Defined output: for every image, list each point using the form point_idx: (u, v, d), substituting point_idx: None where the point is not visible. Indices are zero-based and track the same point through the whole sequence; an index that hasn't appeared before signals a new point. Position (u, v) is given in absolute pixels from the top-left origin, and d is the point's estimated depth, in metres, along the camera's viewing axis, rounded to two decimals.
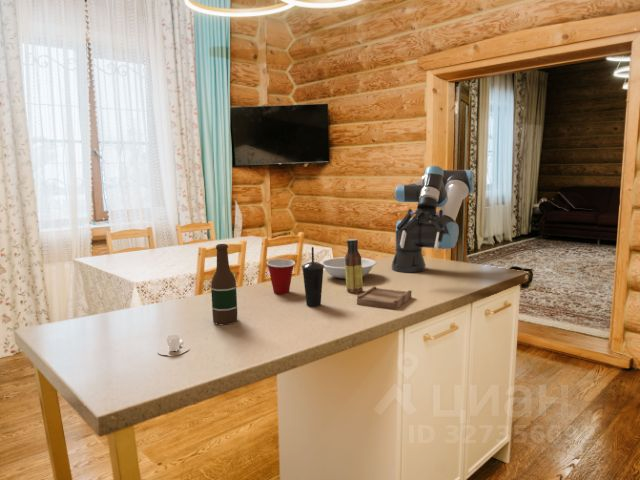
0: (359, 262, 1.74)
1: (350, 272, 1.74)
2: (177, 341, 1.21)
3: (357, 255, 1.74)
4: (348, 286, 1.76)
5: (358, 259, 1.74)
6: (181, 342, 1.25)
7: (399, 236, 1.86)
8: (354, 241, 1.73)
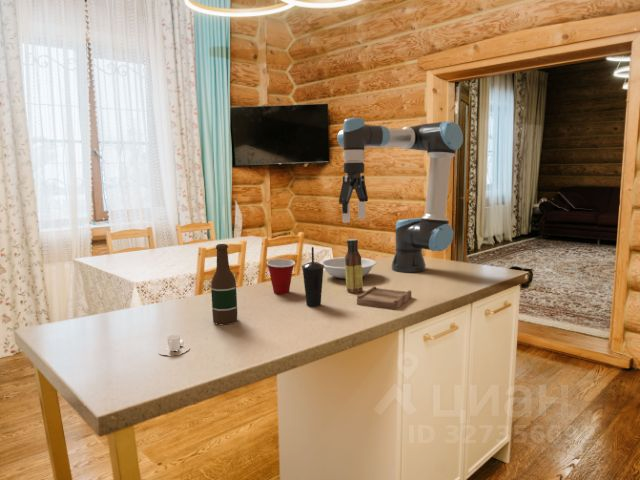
0: (359, 262, 1.74)
1: (350, 272, 1.74)
2: (177, 341, 1.21)
3: (357, 255, 1.74)
4: (348, 286, 1.76)
5: (358, 259, 1.74)
6: (181, 342, 1.25)
7: None
8: (354, 241, 1.73)
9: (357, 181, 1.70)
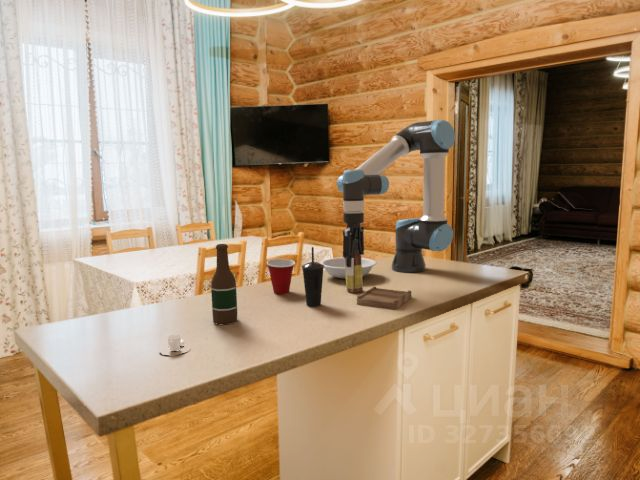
0: (359, 262, 1.74)
1: None
2: (178, 341, 1.21)
3: (357, 255, 1.74)
4: (348, 286, 1.76)
5: (358, 259, 1.74)
6: (182, 342, 1.25)
7: None
8: (354, 241, 1.73)
9: (357, 231, 1.73)
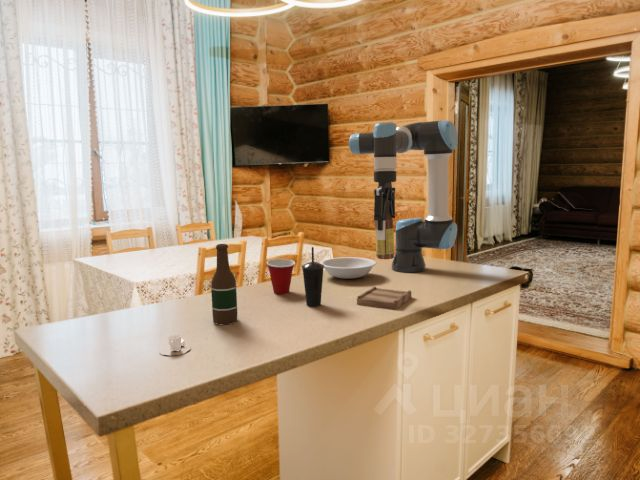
0: (391, 225, 1.59)
1: None
2: (178, 341, 1.21)
3: (389, 217, 1.58)
4: (379, 252, 1.60)
5: (390, 222, 1.58)
6: (182, 342, 1.25)
7: None
8: (386, 202, 1.58)
9: (389, 191, 1.57)
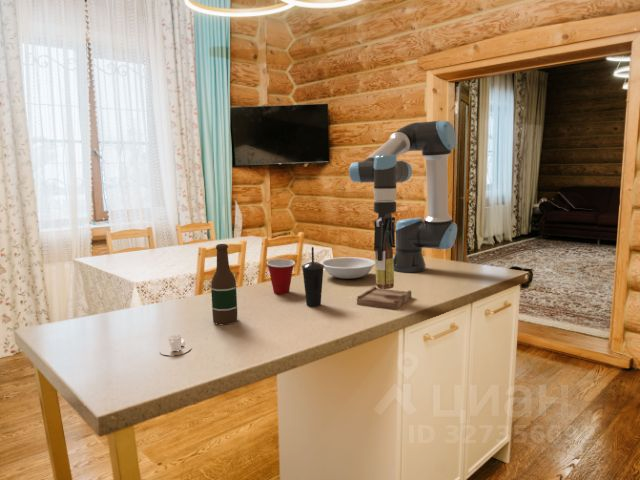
0: (391, 255, 1.60)
1: None
2: (179, 341, 1.21)
3: (389, 248, 1.60)
4: (378, 281, 1.62)
5: (390, 252, 1.60)
6: (183, 342, 1.25)
7: None
8: (386, 232, 1.59)
9: (389, 221, 1.59)
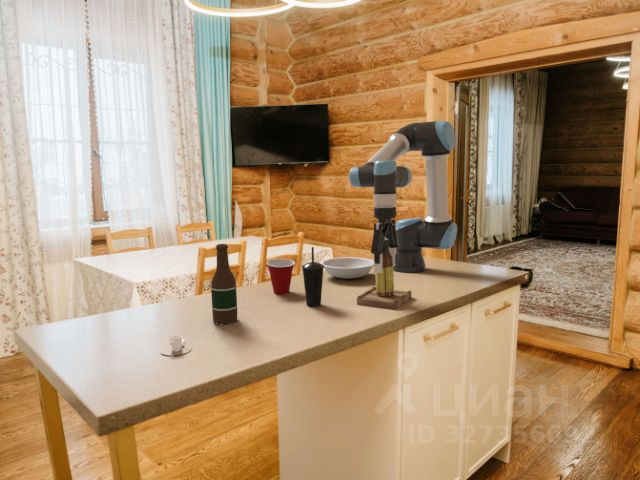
0: (391, 264, 1.60)
1: (381, 275, 1.60)
2: (179, 341, 1.21)
3: (388, 256, 1.60)
4: (378, 290, 1.62)
5: (390, 260, 1.60)
6: (183, 342, 1.25)
7: None
8: (385, 241, 1.59)
9: (389, 227, 1.59)
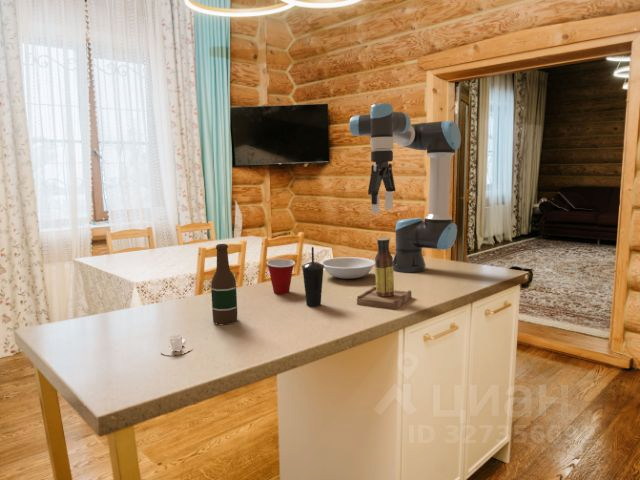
0: (391, 263, 1.61)
1: (381, 275, 1.60)
2: (179, 341, 1.21)
3: (388, 256, 1.60)
4: (378, 289, 1.62)
5: (390, 260, 1.60)
6: (184, 342, 1.25)
7: None
8: (385, 241, 1.60)
9: (386, 170, 1.61)
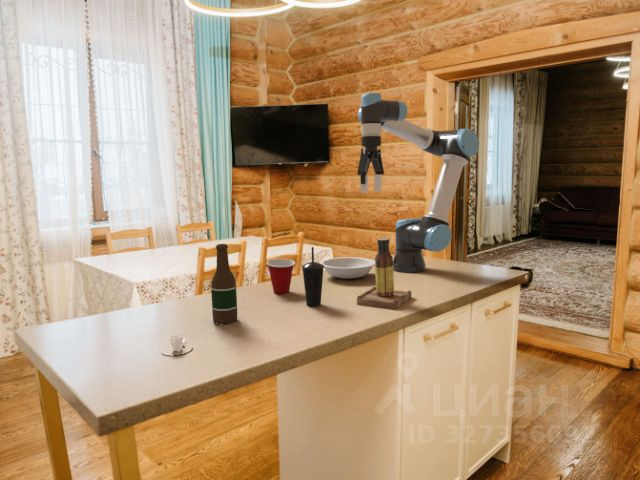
0: (391, 263, 1.61)
1: (381, 275, 1.60)
2: (180, 341, 1.21)
3: (389, 256, 1.60)
4: (378, 289, 1.62)
5: (390, 260, 1.60)
6: (184, 342, 1.25)
7: None
8: (385, 241, 1.60)
9: (374, 154, 1.78)
